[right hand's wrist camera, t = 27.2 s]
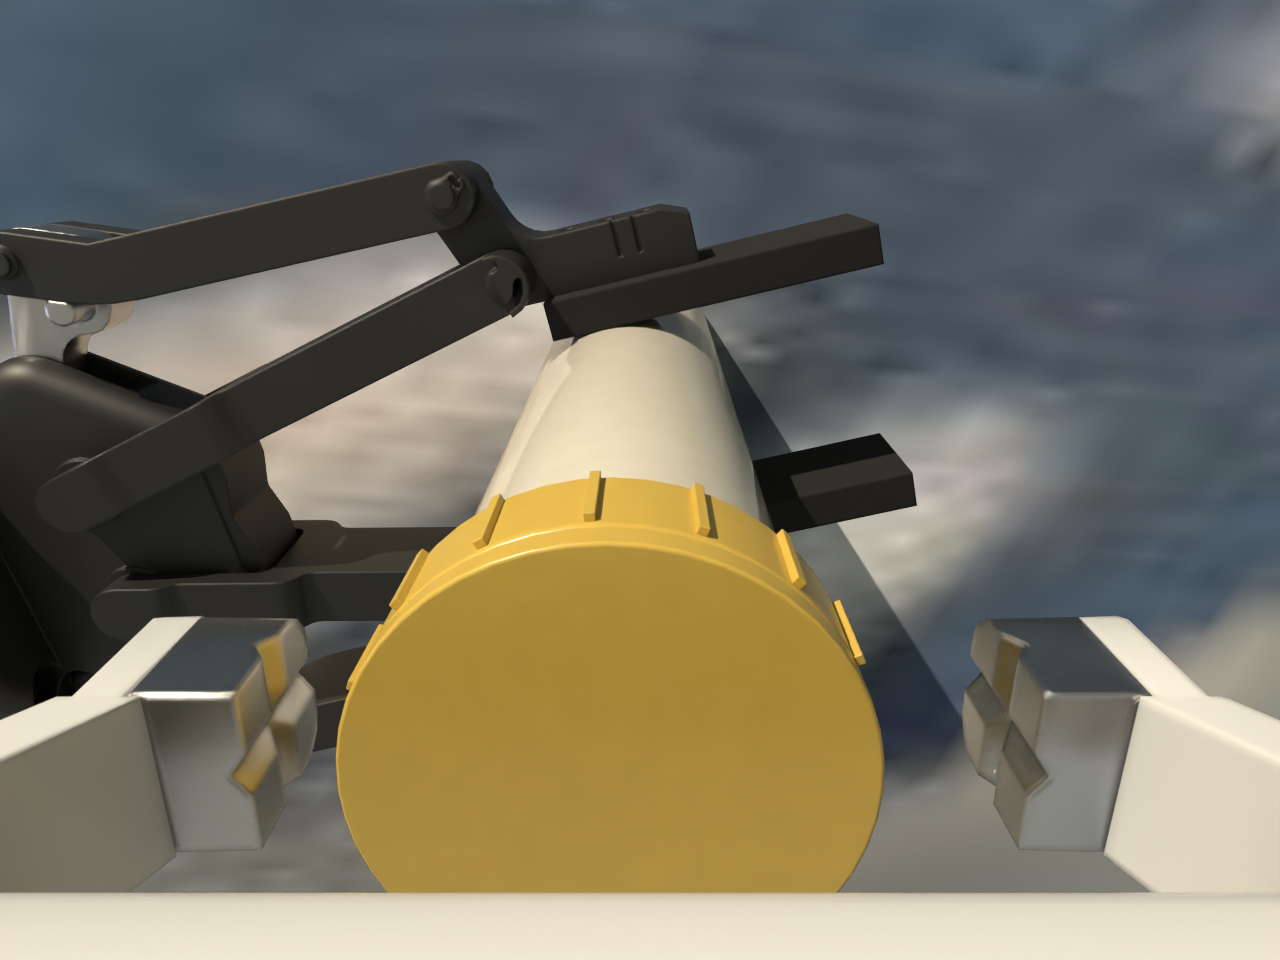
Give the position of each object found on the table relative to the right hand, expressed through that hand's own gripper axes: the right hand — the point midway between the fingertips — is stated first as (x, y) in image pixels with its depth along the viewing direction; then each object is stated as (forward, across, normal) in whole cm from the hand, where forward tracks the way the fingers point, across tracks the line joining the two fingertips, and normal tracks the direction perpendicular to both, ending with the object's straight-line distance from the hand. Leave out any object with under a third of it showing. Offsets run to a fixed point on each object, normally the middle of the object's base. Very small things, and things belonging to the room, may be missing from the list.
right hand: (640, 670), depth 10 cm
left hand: (+10, -5, -1) cm, 11 cm away
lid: (-2, 0, 0) cm, 2 cm away
